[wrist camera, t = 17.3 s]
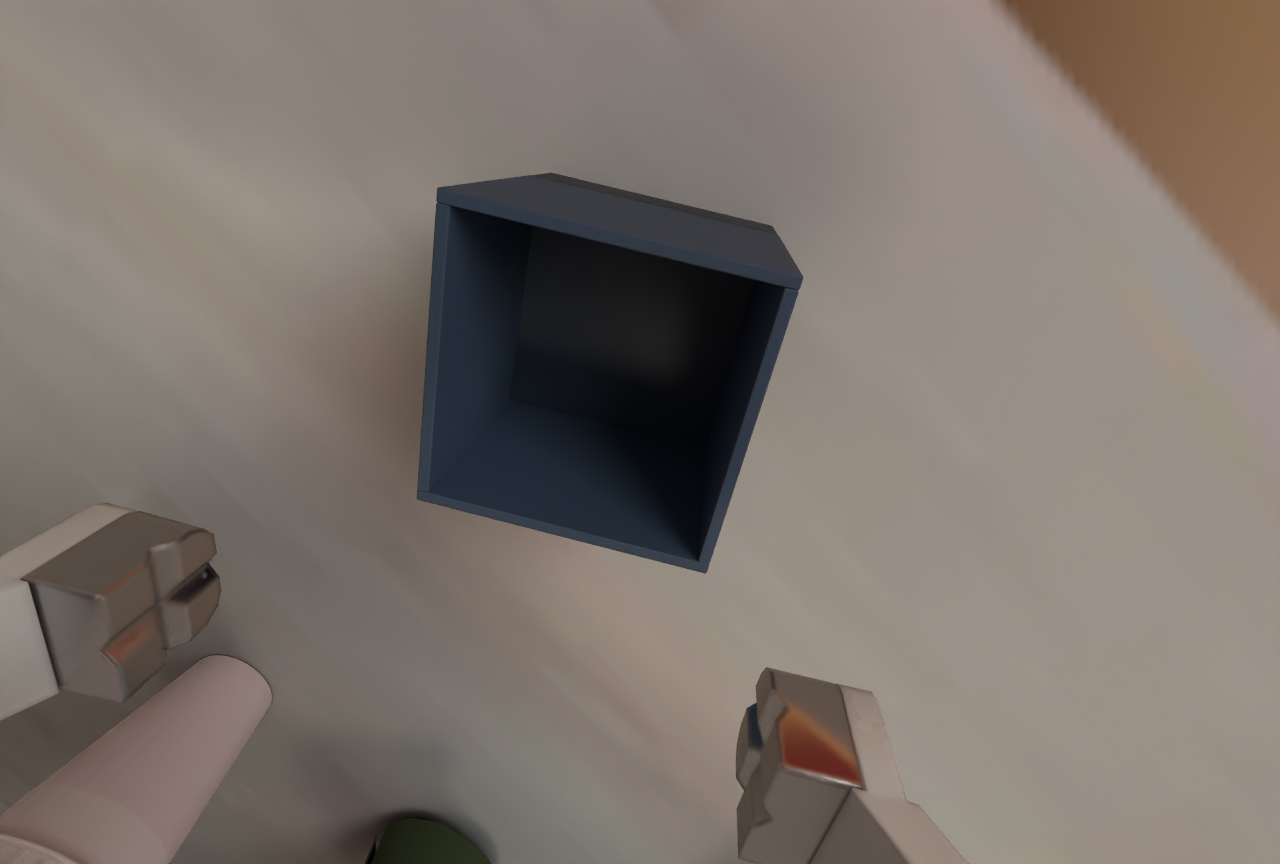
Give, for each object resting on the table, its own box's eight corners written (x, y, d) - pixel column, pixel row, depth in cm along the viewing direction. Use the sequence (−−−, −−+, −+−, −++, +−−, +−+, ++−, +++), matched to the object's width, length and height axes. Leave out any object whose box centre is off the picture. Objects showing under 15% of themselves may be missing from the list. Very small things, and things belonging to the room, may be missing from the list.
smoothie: (228, 747, 30) (-134, 1183, 17) (137, 651, 28) (-350, 1066, 15) (328, 720, 28) (5, 1182, 16) (238, 614, 26) (-218, 1050, 14)
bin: (521, 381, 20) (550, 172, 17) (713, 429, 20) (773, 226, 17) (416, 499, 13) (437, 187, 11) (706, 574, 13) (804, 276, 10)
